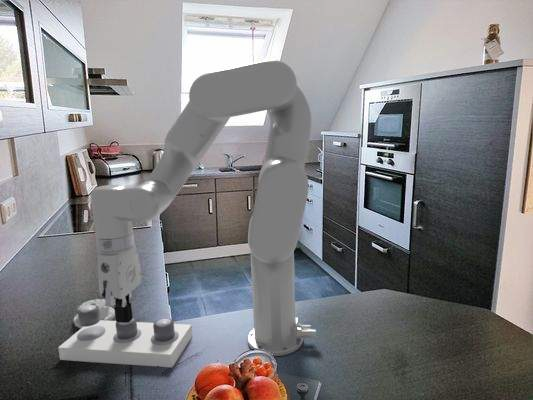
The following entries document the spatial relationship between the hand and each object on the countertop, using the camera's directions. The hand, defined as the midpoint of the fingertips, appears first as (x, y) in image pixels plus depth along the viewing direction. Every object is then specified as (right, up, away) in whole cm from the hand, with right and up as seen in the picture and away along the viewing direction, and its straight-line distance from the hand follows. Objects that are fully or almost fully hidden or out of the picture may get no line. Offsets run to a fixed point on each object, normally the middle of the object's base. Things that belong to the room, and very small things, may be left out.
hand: (124, 320), depth 86 cm
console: (+1, -7, +1) cm, 7 cm away
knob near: (+9, -3, -1) cm, 10 cm away
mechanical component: (-13, -5, +16) cm, 21 cm away
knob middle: (0, -3, +1) cm, 3 cm away
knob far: (-9, -1, +2) cm, 9 cm away
